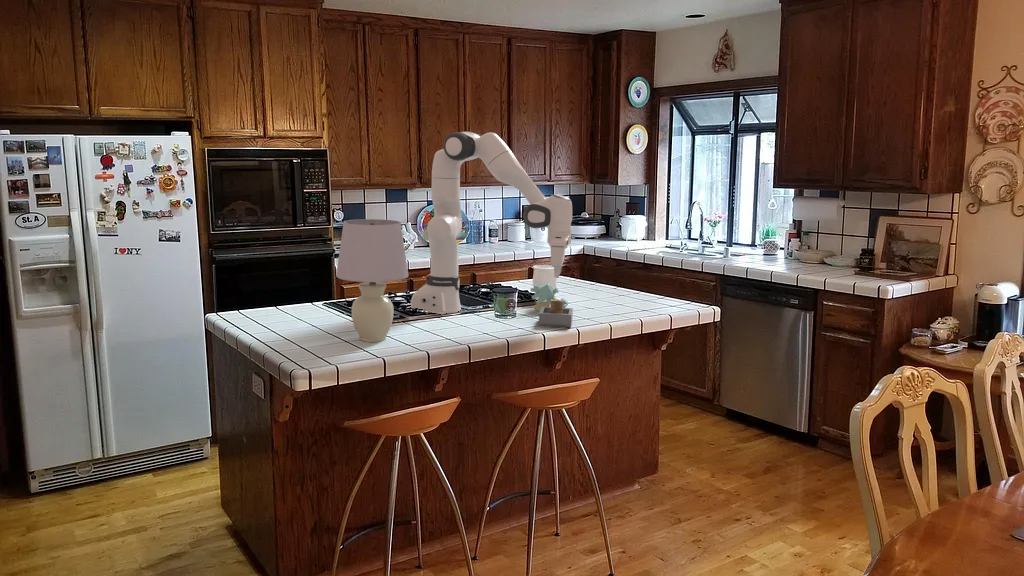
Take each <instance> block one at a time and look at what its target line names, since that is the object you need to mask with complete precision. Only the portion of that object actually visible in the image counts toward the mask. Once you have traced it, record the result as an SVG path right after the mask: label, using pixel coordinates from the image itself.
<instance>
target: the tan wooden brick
mask: <svg viewBox="0 0 1024 576" xmlns="http://www.w3.org/2000/svg"><path fill="white" fill-rule="evenodd" d="M550 307H551V308H550V313H557V314H563V300H561V299H558V300H552V299H551V305H550Z"/></svg>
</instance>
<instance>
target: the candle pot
mask: <svg viewBox="0 0 1024 576" xmlns="http://www.w3.org/2000/svg"><path fill="white" fill-rule="evenodd" d="M550 308H551V306H550V307H542V308H541V310H540V311H539V314H538V327H542V326H556V327H555V328H560V327H571V328H572V325H573V316H574V314H573V313H574V308H572V307H566V308H563V314H557V313H550Z"/></svg>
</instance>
